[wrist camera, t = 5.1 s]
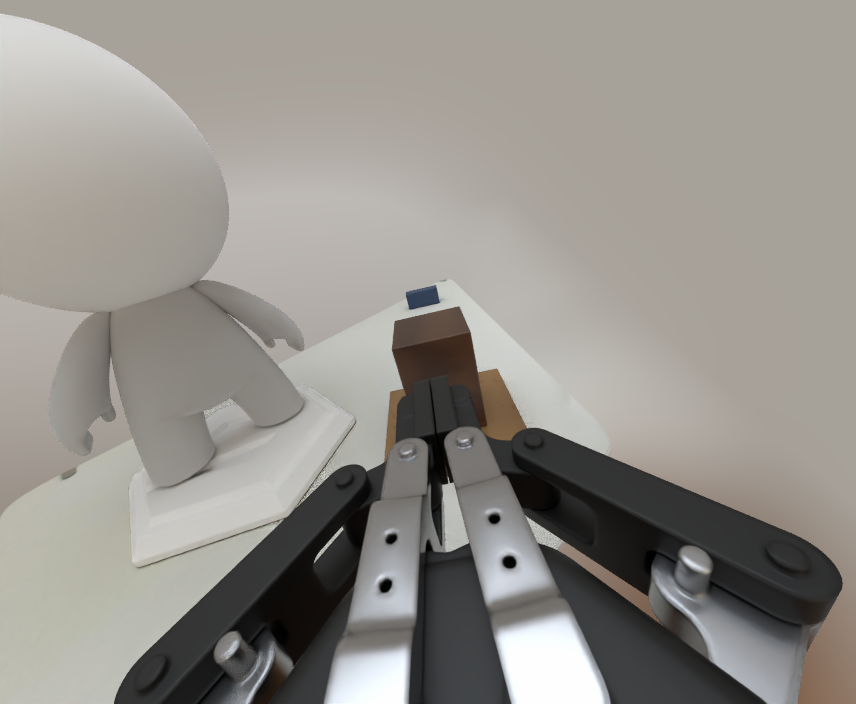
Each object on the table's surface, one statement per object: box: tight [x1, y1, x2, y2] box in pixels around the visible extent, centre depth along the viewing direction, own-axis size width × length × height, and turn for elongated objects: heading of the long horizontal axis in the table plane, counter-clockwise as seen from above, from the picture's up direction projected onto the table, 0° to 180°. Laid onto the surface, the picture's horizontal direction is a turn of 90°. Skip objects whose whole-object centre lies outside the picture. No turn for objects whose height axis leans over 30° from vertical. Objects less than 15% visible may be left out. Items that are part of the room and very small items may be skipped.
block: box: [384, 307, 527, 475], centre depth 30 cm, size 12×12×10 cm
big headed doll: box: [0, 14, 356, 567], centre depth 27 cm, size 20×23×35 cm
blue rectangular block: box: [406, 285, 439, 309], centre depth 66 cm, size 6×2×3 cm, turn 93°
